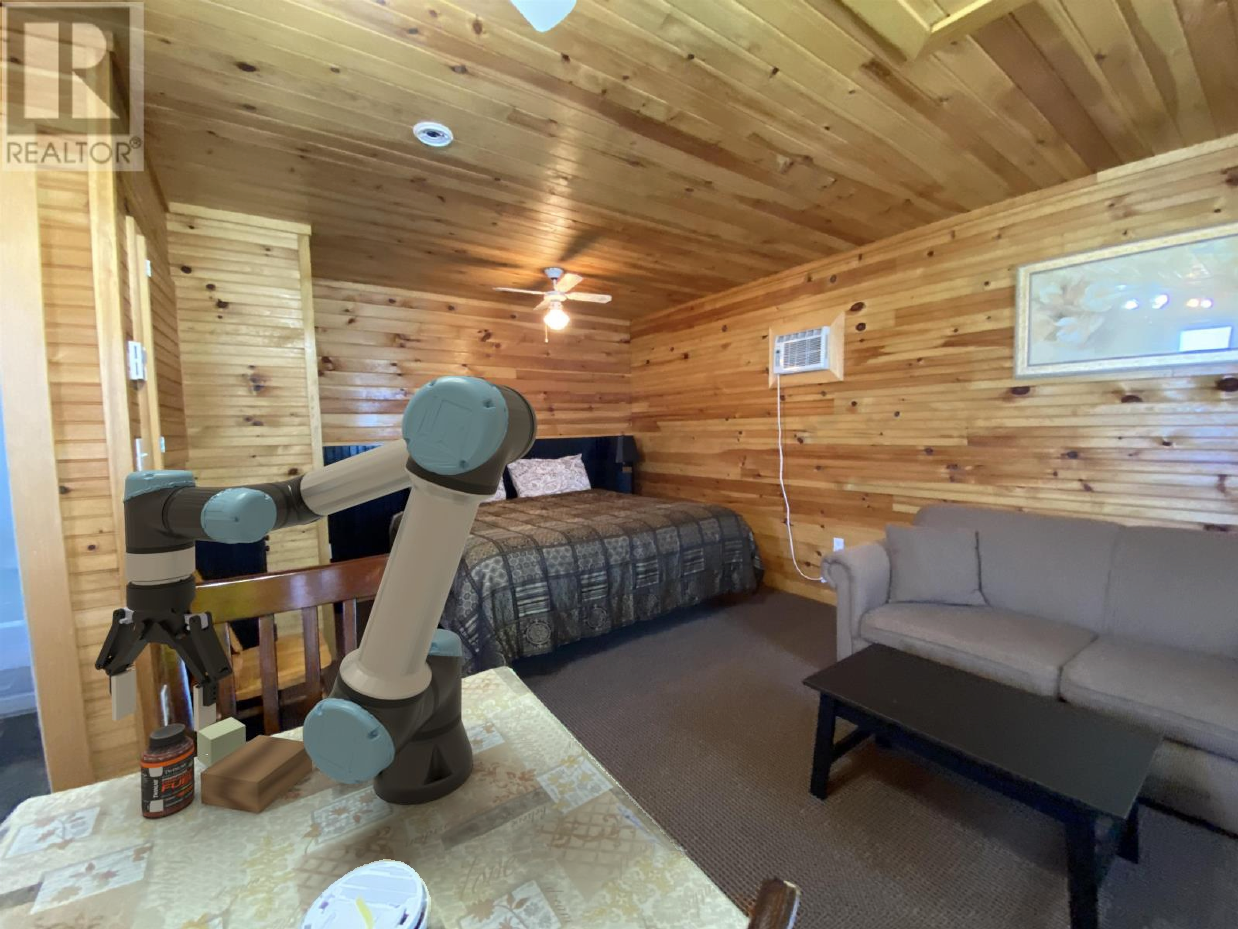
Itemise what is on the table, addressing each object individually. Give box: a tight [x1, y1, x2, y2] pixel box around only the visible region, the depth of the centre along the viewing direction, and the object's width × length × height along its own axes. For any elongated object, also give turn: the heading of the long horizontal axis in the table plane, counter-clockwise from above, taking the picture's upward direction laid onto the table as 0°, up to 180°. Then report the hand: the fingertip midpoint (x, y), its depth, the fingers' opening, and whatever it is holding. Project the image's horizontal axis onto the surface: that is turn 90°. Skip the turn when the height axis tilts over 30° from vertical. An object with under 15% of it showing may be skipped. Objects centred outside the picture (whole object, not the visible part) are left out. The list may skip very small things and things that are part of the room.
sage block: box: [196, 716, 247, 768], centre depth 88 cm, size 5×5×5 cm
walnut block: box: [200, 734, 313, 815], centre depth 81 cm, size 10×10×5 cm
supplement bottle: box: [140, 723, 196, 818], centre depth 76 cm, size 6×6×11 cm
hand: (164, 721), depth 76 cm, fingers open, 13 cm apart
